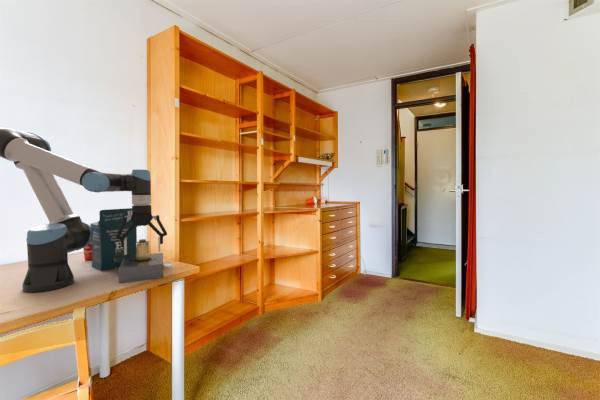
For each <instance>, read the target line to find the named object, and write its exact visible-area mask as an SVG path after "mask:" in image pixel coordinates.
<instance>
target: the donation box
mask: <svg viewBox="0 0 600 400" xmlns="http://www.w3.org/2000/svg"><path fill="white" fill-rule="evenodd" d="M125 216H127V217H132V207H131V208H130V207H129V208H113V209H112V208H111V209H100V210H99V220H98V221H96V222H92V223H90V224H89V226H90V227H91V228H92V230H93V238H92V260H91V268H93V269H95V270H97V271H99V270H100V272H105V270H106V271H110V270H113V269H114V270H115V268H116V269H119V267H120V265H121V263H122V261H123V259H124V257H125V256H133V255H136V242H138V239H137V238H138V235H137V233H138V232H137V231H138V230H137V228H138V226H137V225H136V226H135V227H134V228H133V229H132V230H131V231H130V232H129V234H128V235H127V236H126V237H125V239H127V254H126V255H124V247H121V240H120V239H117V238H116V236H117V234H118V232H119V230H120V228H121V226H122V224H123V221H124V217H125ZM133 223H134V222H133V221H132V220H131V219H130V220H129V221H128V222H127V223H126V225H125V227H124V229H123V231H122V233H121V235H120V236H123V235H124V234H125V232H126V231H127V230H128V229H129V228H130V227H131V226H132V224H133Z"/></svg>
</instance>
